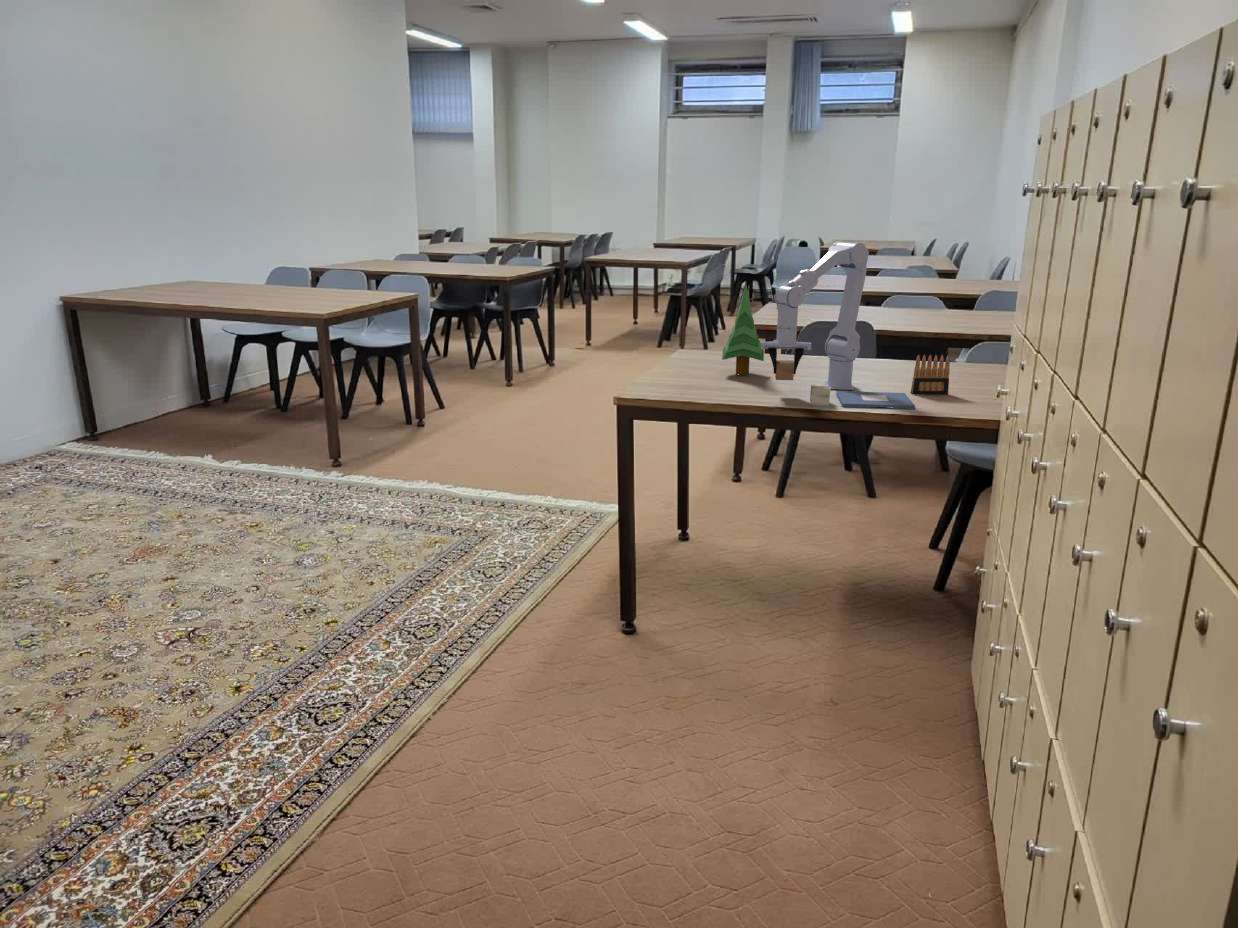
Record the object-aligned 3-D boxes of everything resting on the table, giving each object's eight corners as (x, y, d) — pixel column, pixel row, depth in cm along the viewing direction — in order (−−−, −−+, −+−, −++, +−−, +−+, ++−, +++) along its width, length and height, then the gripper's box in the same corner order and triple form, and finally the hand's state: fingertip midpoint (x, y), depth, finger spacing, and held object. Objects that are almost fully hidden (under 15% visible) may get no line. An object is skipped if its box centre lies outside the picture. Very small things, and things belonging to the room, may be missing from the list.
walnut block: (775, 376, 264) (776, 360, 263) (792, 376, 264) (793, 360, 262) (776, 379, 260) (777, 363, 258) (793, 380, 259) (794, 363, 258)
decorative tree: (773, 376, 290) (778, 284, 281) (731, 380, 284) (734, 286, 275) (752, 369, 302) (756, 280, 293) (711, 372, 296) (714, 282, 287)
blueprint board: (836, 394, 265) (836, 390, 265) (904, 396, 263) (904, 392, 262) (842, 406, 250) (842, 403, 250) (914, 409, 248) (915, 405, 247)
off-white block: (809, 401, 257) (811, 384, 256) (827, 401, 257) (828, 385, 255) (811, 405, 253) (812, 388, 251) (829, 405, 252) (830, 388, 250)
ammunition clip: (912, 394, 265) (916, 355, 261) (910, 393, 267) (914, 354, 263) (948, 394, 264) (952, 355, 261) (946, 393, 266) (950, 354, 263)
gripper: (762, 329, 254) (760, 375, 258) (813, 330, 252) (810, 376, 257) (761, 325, 261) (759, 370, 265) (811, 326, 259) (808, 371, 263)
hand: (784, 373), depth 261 cm, fingers closed on walnut block, 5 cm apart
